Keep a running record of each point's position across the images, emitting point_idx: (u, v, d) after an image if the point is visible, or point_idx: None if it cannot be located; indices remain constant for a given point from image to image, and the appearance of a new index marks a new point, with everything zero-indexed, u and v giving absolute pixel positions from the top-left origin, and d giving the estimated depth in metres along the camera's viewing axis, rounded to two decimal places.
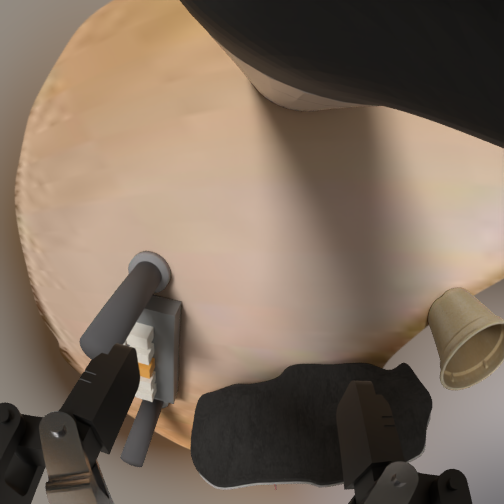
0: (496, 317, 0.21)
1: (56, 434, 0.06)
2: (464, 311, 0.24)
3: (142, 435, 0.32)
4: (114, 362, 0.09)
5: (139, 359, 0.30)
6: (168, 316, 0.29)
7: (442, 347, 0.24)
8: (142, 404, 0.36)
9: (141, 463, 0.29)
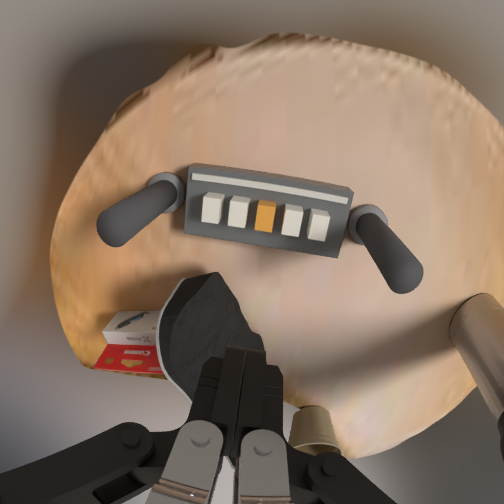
0: (338, 451, 0.38)
1: (202, 445, 0.07)
2: (333, 431, 0.39)
3: (149, 221, 0.25)
4: (234, 364, 0.10)
5: (289, 224, 0.27)
6: (336, 252, 0.30)
7: (314, 432, 0.38)
8: (166, 189, 0.29)
9: (118, 245, 0.22)
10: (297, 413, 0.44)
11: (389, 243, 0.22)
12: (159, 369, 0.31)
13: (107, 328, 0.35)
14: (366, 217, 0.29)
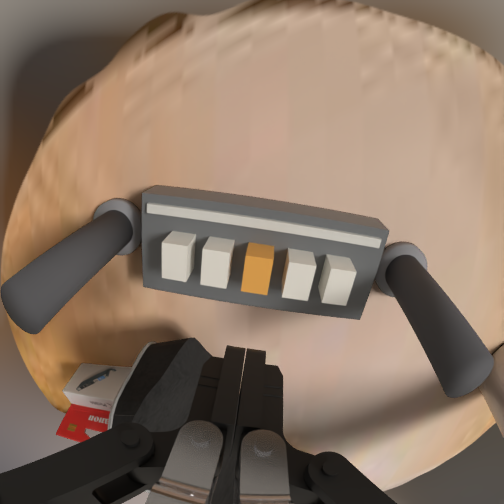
0: None
1: (202, 445, 0.07)
2: None
3: (80, 285, 0.15)
4: (234, 364, 0.10)
5: (294, 283, 0.18)
6: (359, 312, 0.21)
7: None
8: (114, 226, 0.19)
9: None
10: None
11: (447, 321, 0.13)
12: None
13: (68, 387, 0.26)
14: (401, 263, 0.20)
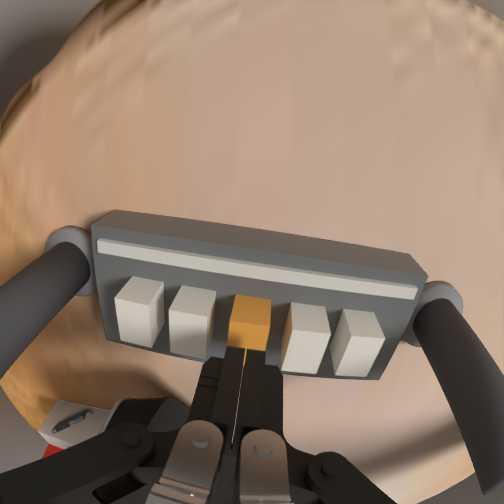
0: None
1: (202, 445, 0.07)
2: None
3: (17, 354, 0.09)
4: (234, 364, 0.10)
5: (298, 355, 0.12)
6: (379, 372, 0.15)
7: None
8: (62, 267, 0.13)
9: None
10: None
11: (498, 407, 0.07)
12: None
13: (43, 427, 0.20)
14: (436, 311, 0.14)
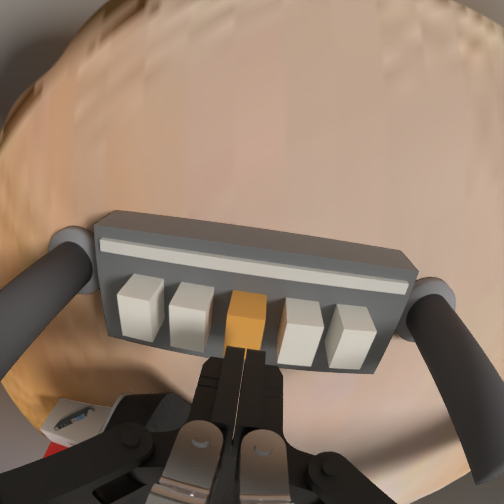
0: None
1: (202, 446, 0.07)
2: None
3: (22, 349, 0.10)
4: (234, 364, 0.10)
5: (293, 348, 0.13)
6: (373, 366, 0.16)
7: None
8: (65, 266, 0.14)
9: None
10: None
11: (489, 399, 0.08)
12: None
13: (46, 425, 0.21)
14: (428, 307, 0.15)
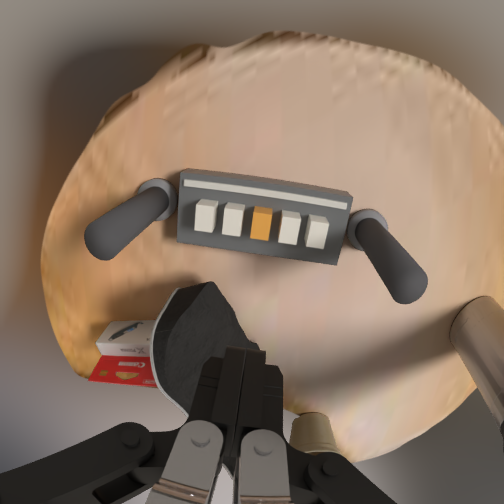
0: None
1: (202, 446, 0.07)
2: (333, 437, 0.38)
3: (139, 231, 0.23)
4: (234, 364, 0.10)
5: (286, 231, 0.26)
6: (335, 259, 0.29)
7: (314, 440, 0.37)
8: (158, 196, 0.27)
9: (107, 258, 0.20)
10: (296, 420, 0.42)
11: (391, 251, 0.21)
12: (155, 382, 0.29)
13: (100, 339, 0.34)
14: (365, 222, 0.28)
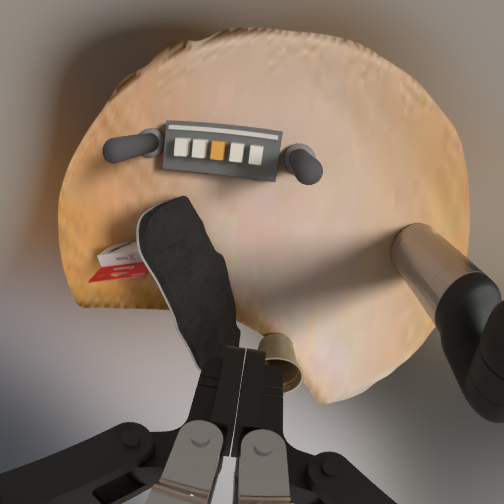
0: (299, 374, 0.48)
1: (202, 446, 0.07)
2: (294, 354, 0.50)
3: (137, 151, 0.34)
4: (234, 364, 0.10)
5: (234, 153, 0.37)
6: (274, 177, 0.40)
7: (274, 351, 0.48)
8: (151, 137, 0.39)
9: (115, 162, 0.31)
10: (262, 340, 0.54)
11: (300, 155, 0.33)
12: (139, 274, 0.40)
13: (101, 253, 0.45)
14: (295, 150, 0.39)
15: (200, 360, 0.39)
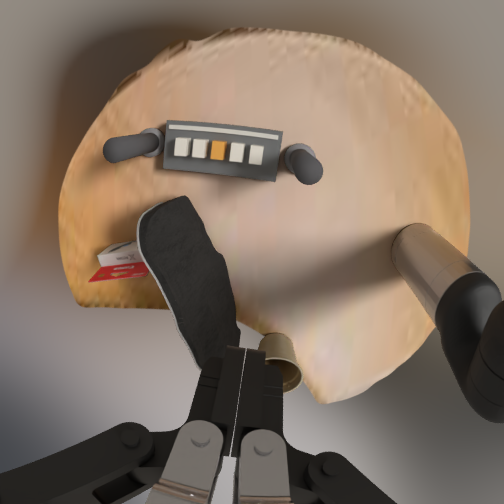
0: (300, 374, 0.48)
1: (202, 445, 0.07)
2: (294, 354, 0.50)
3: (137, 151, 0.34)
4: (234, 364, 0.10)
5: (234, 153, 0.37)
6: (274, 177, 0.40)
7: (274, 351, 0.48)
8: (151, 136, 0.39)
9: (116, 161, 0.31)
10: (262, 340, 0.54)
11: (300, 155, 0.33)
12: (139, 274, 0.40)
13: (101, 253, 0.45)
14: (295, 150, 0.39)
15: (200, 359, 0.39)
